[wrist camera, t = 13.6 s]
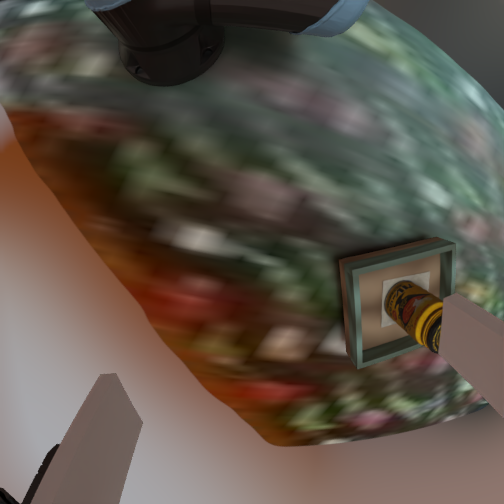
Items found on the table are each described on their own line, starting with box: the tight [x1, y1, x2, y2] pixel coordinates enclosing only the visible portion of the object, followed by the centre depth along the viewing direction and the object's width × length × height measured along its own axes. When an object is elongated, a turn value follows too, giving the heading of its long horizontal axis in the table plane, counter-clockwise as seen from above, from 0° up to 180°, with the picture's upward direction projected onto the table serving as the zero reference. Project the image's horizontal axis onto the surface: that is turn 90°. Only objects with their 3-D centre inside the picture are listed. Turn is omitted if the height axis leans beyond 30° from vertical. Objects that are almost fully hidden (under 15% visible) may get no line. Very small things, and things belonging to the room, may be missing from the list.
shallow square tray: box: [339, 237, 456, 369], centre depth 40 cm, size 15×17×8 cm
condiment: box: [381, 271, 443, 353], centre depth 33 cm, size 7×8×12 cm
